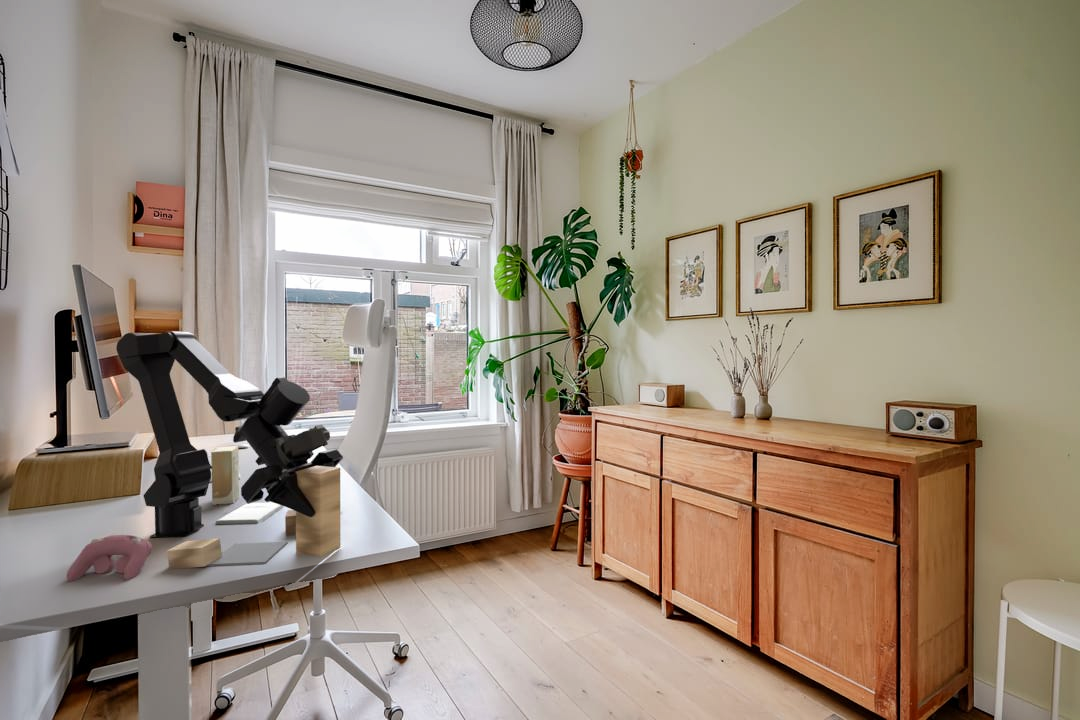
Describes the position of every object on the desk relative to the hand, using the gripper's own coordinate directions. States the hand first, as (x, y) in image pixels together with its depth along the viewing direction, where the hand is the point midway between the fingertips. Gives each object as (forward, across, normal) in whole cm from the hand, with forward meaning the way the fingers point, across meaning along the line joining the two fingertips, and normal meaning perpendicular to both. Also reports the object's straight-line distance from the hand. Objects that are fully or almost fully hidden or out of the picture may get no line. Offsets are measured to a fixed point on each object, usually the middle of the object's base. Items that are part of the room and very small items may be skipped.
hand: (324, 510), depth 91 cm
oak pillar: (+4, 0, +6) cm, 7 cm away
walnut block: (-3, +7, +13) cm, 15 cm away
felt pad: (-3, -5, +13) cm, 14 cm away
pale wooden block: (-7, -10, +16) cm, 21 cm away
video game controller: (-13, -17, +24) cm, 32 cm away
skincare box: (-26, +20, +36) cm, 49 cm away
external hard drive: (-15, +12, +26) cm, 32 cm away
